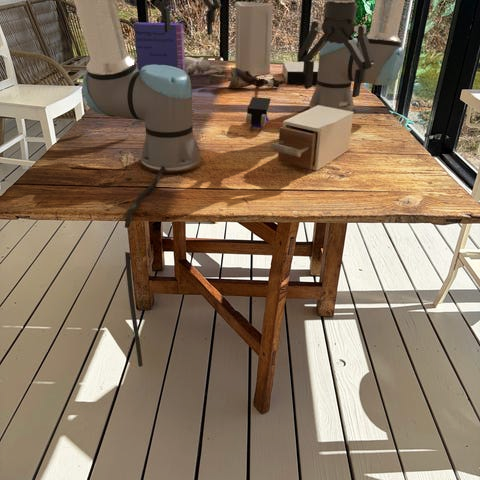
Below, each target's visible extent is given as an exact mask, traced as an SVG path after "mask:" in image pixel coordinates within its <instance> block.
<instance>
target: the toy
mask: <svg viewBox="0 0 480 480" xmlns="http://www.w3.org/2000/svg"><path fill="white" fill-rule="evenodd" d="M211 70H214V71H217V72H218V73H220V74H222V72H223V69H222V68H221V67H220V65H216V64H211V62H210V61H209V60H207V59H204V57H199V58H195V57H194V58H193V57H190V56H185V72H186V73H187V74H188V75H189V73H192V72H193V71H196V73H197V74H198V75H200V76H201V75H204V74H205V72H209V71H211Z"/></svg>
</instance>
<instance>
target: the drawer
mask: <svg viewBox="0 0 480 480" xmlns="http://www.w3.org/2000/svg"><path fill="white" fill-rule="evenodd" d="M278 132H279V133H278V142H271V143H270V145H269V149H270V150H271V151H273V152H277V162H280V163H284V164H286V165H291V166H295V167H299V168H302V169H305V170H308V171H309V170H313V169H312V166H313V164H315V157H316V147H317V137H318V132H316V131H311V130H307V129H302V128H298V127H294V126H288V127H287V128H286V127H283V126H281V127H279V131H278Z"/></svg>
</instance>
